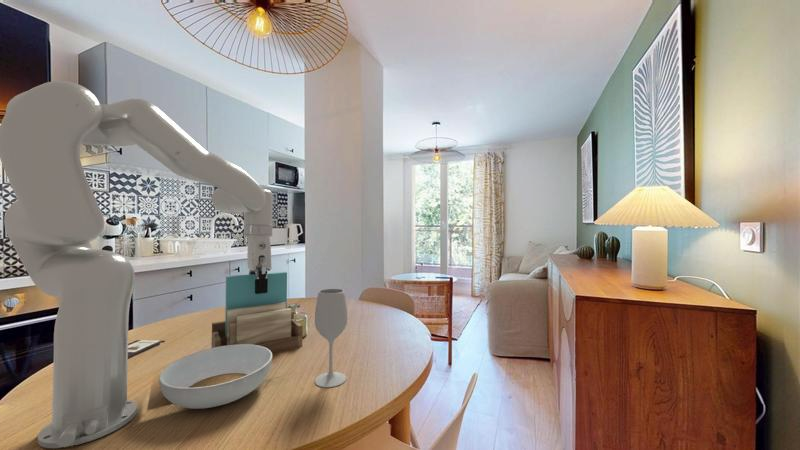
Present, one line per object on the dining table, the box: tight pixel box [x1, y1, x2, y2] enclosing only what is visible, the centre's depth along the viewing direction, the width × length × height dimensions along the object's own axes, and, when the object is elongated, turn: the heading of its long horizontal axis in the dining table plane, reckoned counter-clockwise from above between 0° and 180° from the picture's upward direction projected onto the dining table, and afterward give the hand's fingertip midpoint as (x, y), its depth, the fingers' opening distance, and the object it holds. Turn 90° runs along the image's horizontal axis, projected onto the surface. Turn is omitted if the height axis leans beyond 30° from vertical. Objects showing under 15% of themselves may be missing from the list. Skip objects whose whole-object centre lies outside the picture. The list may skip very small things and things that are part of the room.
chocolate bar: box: [128, 339, 166, 360], centre depth 87 cm, size 9×1×18 cm
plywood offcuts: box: [227, 302, 292, 345], centre depth 85 cm, size 3×16×12 cm, turn 126°
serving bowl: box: [158, 344, 273, 410], centre depth 66 cm, size 21×21×7 cm
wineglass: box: [314, 288, 348, 389], centre depth 73 cm, size 8×8×21 cm
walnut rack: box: [211, 310, 303, 354], centre depth 87 cm, size 10×22×10 cm, turn 126°
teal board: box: [224, 271, 288, 337], centre depth 89 cm, size 2×16×21 cm, turn 126°
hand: (257, 290), depth 89 cm, fingers open, 9 cm apart
